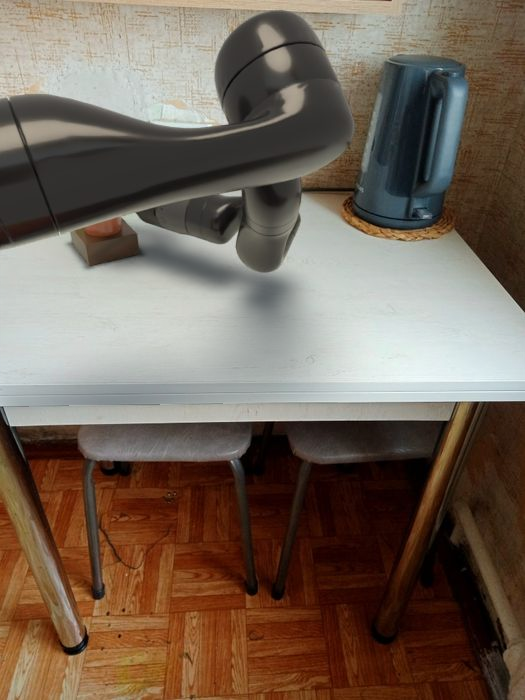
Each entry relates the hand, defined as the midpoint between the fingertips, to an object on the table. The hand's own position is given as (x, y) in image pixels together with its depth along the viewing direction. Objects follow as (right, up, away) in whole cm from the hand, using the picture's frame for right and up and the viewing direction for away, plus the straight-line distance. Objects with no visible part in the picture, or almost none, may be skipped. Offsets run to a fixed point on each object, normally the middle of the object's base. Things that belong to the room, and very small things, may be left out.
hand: (93, 180), depth 83 cm
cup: (0, -6, +5) cm, 8 cm away
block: (0, -10, +8) cm, 12 cm away
